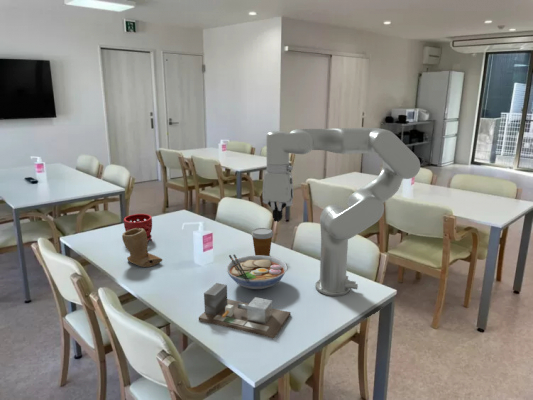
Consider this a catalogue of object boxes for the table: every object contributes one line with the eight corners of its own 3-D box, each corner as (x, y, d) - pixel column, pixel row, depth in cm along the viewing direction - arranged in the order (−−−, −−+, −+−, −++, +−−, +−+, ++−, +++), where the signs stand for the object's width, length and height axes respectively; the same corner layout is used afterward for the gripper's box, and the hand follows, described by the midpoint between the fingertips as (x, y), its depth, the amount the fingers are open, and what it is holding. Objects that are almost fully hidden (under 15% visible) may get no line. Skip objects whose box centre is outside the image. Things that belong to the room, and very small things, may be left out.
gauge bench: (290, 315, 134) (290, 292, 131) (274, 338, 121) (274, 313, 119) (220, 300, 143) (219, 279, 141) (198, 320, 131) (197, 297, 129)
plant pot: (120, 241, 200) (117, 218, 197) (141, 234, 211) (140, 212, 208) (137, 247, 193) (135, 223, 190) (159, 239, 204) (157, 216, 201)
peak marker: (233, 313, 132) (233, 305, 131) (226, 321, 128) (225, 313, 127) (228, 312, 133) (227, 304, 132) (220, 320, 128) (220, 311, 128)
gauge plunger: (272, 314, 131) (272, 300, 130) (265, 324, 126) (265, 309, 125) (243, 308, 135) (242, 294, 134) (234, 317, 130) (234, 303, 129)
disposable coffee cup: (248, 259, 179) (247, 233, 176) (256, 251, 188) (256, 226, 184) (268, 262, 176) (268, 235, 172) (276, 254, 184) (276, 228, 181)
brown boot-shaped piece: (119, 262, 176) (116, 229, 172) (144, 254, 184) (142, 222, 181) (138, 272, 166) (134, 237, 162) (163, 264, 174) (161, 230, 170)
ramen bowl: (297, 295, 147) (297, 274, 144) (234, 305, 140) (233, 283, 138) (275, 268, 170) (275, 249, 168) (221, 275, 163) (220, 255, 161)
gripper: (302, 168, 139) (301, 220, 143) (261, 165, 144) (262, 215, 149) (295, 172, 132) (294, 226, 137) (252, 169, 138) (253, 221, 142)
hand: (277, 220), depth 143 cm, fingers closed
